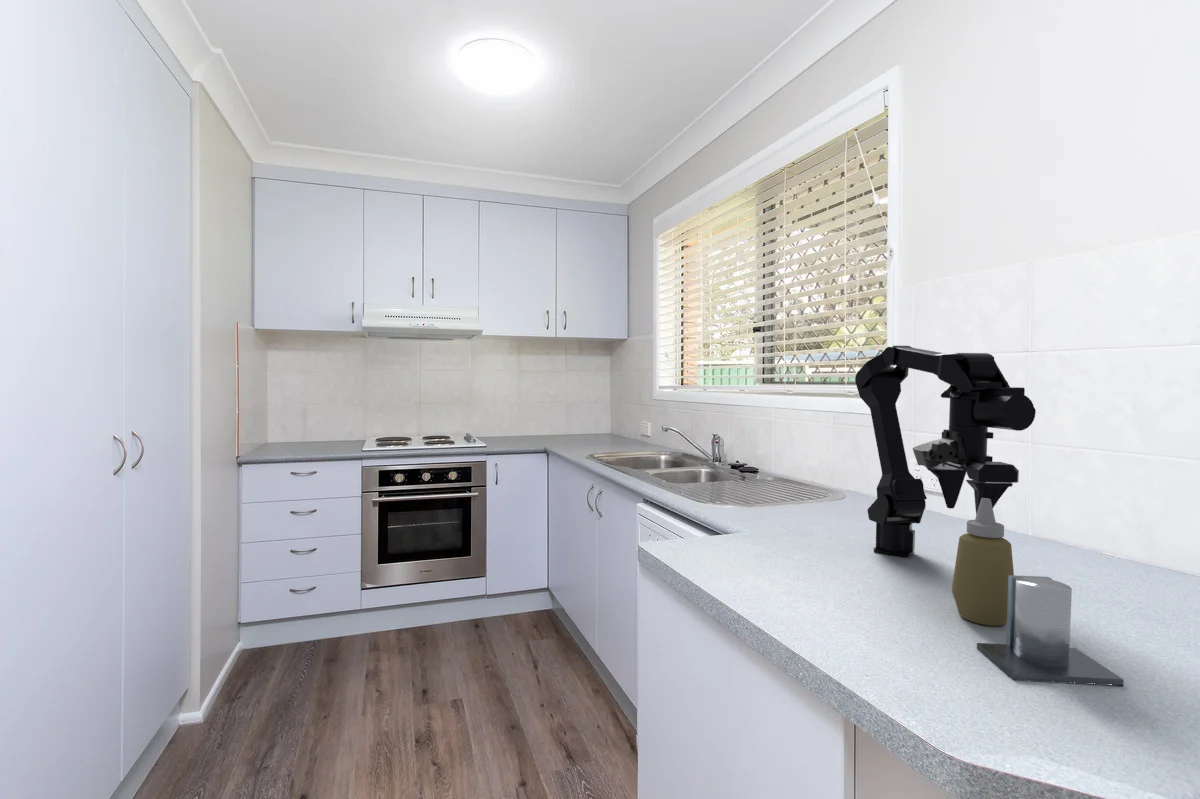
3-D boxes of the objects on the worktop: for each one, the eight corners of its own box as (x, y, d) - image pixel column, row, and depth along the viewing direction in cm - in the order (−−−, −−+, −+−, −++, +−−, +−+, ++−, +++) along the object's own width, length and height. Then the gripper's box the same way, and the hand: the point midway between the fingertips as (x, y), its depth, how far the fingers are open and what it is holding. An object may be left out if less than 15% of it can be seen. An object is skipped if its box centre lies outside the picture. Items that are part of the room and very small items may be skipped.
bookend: (977, 648, 77) (979, 573, 77) (1075, 654, 76) (1078, 578, 75) (1012, 679, 69) (1015, 596, 69) (1123, 686, 68) (1126, 601, 67)
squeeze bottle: (1005, 612, 89) (1009, 495, 89) (1024, 634, 82) (1028, 506, 81) (945, 605, 92) (948, 491, 91) (958, 625, 84) (961, 502, 84)
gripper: (895, 420, 111) (893, 501, 112) (950, 429, 92) (946, 527, 93) (956, 421, 110) (953, 502, 111) (1022, 430, 92) (1018, 528, 93)
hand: (964, 514), depth 102 cm, fingers open, 9 cm apart
